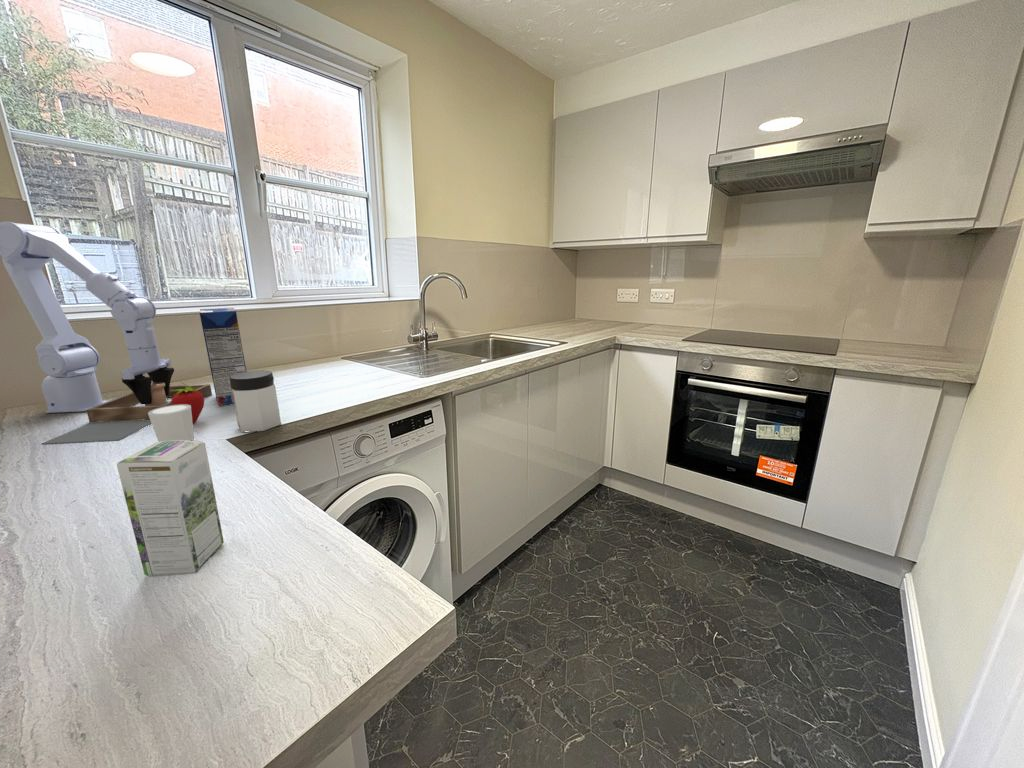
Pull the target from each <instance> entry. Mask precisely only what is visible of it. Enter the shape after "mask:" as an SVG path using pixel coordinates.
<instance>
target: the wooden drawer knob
mask: <svg viewBox="0 0 1024 768" xmlns="http://www.w3.org/2000/svg"><path fill="white" fill-rule="evenodd" d="M164 387H165V383H164V382H153V381H152V382H151V396H152V403H151V404H144V406H161V405H164V404H166V403H168V399H167V397H166V395H165V390H164Z"/></svg>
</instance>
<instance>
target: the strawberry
mask: <svg viewBox="0 0 1024 768" xmlns="http://www.w3.org/2000/svg"><path fill="white" fill-rule="evenodd" d="M180 383H182V385H186V388H185V389H177V390H171V391H179V392H178V393H177V394H175V395H174V396H173V397H171V400H170V401H171V404H172V405H179V404H186V405H191V412H192V422H193V424H195V423H197V421H198V419H199V417H200V416H201V414H202V412H203V408H204V405H205V399H204V397H203V394H202V393H200V392H199V391H196V390H195V389H198V388H191V387H187V385H188V384H185V383H184V382H182V381H180Z"/></svg>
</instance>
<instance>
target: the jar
mask: <svg viewBox="0 0 1024 768" xmlns="http://www.w3.org/2000/svg"><path fill="white" fill-rule="evenodd" d="M229 379H230V385H231V391H232V396H233V402H234V404H233V406H234V411H235V416H236V422H237V427H238V429H239V431H240V432H241V433H246V432H245V431H257V432H265V431H268V430H270V429H273V428H275V427H278V426H280V425H282V421H281V414H280V407H279V401H278V395H277V389H276V384H275V382H274V381H275V380H274V379H275V378H274V375H273V372H272V371H270V370H266V369H265V370H264V369H263V370H262V369H261V370H260V369H257V370H248V371H247V370H246V372H240V373H236V374H233V375H231V376H230V377H229ZM257 432H256V433H257Z"/></svg>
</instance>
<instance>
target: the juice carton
mask: <svg viewBox="0 0 1024 768" xmlns="http://www.w3.org/2000/svg"><path fill="white" fill-rule="evenodd" d="M199 317H200V322H201V328H202V332H203V338H204V343H205V348H206V352H207V353H206V354H207V357H208V363H209V369H210V372H211V378H212V383H213V384H212V385H213V389H214V394H215V398H216V402H217V403H216V404H217V407H218V406H219V407H224V405H226V406H231V405H230V404H233V405H234V402H233V396H232V391H231V385H230V379H229V377H230V376H231V375H233V374H236V373H240V372H246V371H247V367H246V361H245V354H244V349H243V344H242V338H241V333H240V327H239V326H240V325H239V321H238V315H237V310H236V309H235V308H234V307H221V308H217V307H216V308H200V309H199Z"/></svg>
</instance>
